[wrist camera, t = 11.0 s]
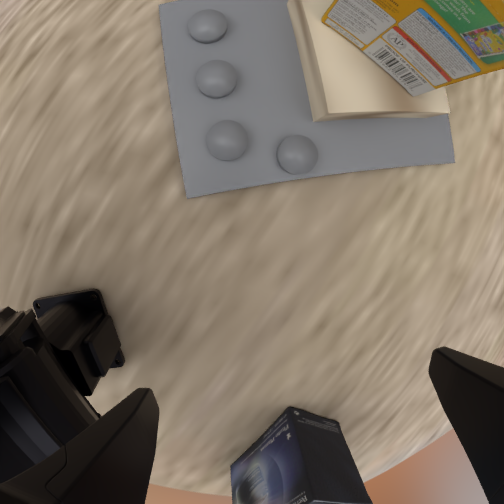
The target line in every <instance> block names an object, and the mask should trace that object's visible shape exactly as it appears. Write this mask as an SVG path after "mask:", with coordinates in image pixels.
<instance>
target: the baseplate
mask: <svg viewBox="0 0 504 504" xmlns="http://www.w3.org/2000/svg"><path fill="white" fill-rule="evenodd" d="M287 2H288V0H178V1H173V2H169V3H164V4H160V5H159V13H160V23H161V32H162V41H163V50H164V58H165V66H166V73H167V81H168V88H169V95H170V102H171V109H172V115H173V122H174V128H175V134H176V140H177V146H178V152H179V158H180V164H181V169H182V175H183V180H184V186H185V191H186V196H187V199H188V198H193V197H198V196H203V195H208V194H214V193H219V192H224V191H230V190H235V189H241V188H247V187H252V186H258V185H264V184H271V183H277V182H283V181H290V180H296V179H303V178H310V177H318V176H325V175H333V174H341V173H349V172H357V171H366V170H375V169H385V168H395V167H406V166H418V165H431V164H446V163H455V159H454V150H453V143H452V136H451V129H450V123H449V118H448V114H443V115H438V116H433V117H428V118H368V119H347V120H332V121H319V122H313V118H312V112H311V107H310V102H309V97H308V92H307V87H306V82H305V78H304V73H303V69H302V64H301V60H300V55H299V51H298V47H297V43H296V38H295V34H294V30H293V27H292V23H291V19H290V15H289V11H288V8H287Z"/></svg>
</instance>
